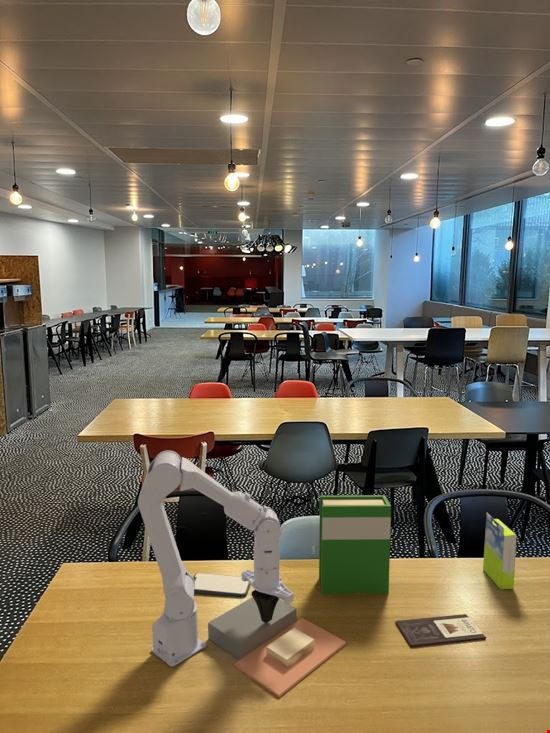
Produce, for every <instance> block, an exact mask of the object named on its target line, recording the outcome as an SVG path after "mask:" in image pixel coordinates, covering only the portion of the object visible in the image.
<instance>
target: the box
mask: <svg viewBox="0 0 550 733" xmlns="http://www.w3.org/2000/svg"><path fill="white" fill-rule="evenodd" d="M485 515H486V516H485V517H486V518H485V533H484V534H485V535H484V548H483V551H484V552H483V565H482V570H483V571H484V572H485V573H486V574H487V576H488V577H489V578H490V579H491V580H492V581H493V583H495V585H496V586H497V587H498V588H499V590H513V589H514V588H515V571H516V569H515V568H516V552H517V534H516V533H514V531H512V530H511V529H510V528H509V526H507V525H506V524H504V523H503V522H502V521H501V520H500V519H498V518H494V517H493V516H492V515H490V514H489V513H488V512H486V513H485Z"/></svg>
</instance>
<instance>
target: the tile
mask: <svg viewBox="0 0 550 733" xmlns="http://www.w3.org/2000/svg"><path fill="white" fill-rule="evenodd" d="M314 641H315V640H314V639H313V638H311V637H309V636H307V635H306V634H304V633H302V632H300V631H299V630H297V629H295V628H293V629H292V630H290V631H289V632H287V633H286V634H284V635H283V636H281V637H280V638H278V639H277V640H275V641H274V642H273V643H271V644H270V645H268V646H267V647H266V655H267V656H268V657H270V658H272V659H273V660H275V661H276V662H278V663H279V664H281V665H282V666H284V667H285V668H288V667H290V666H291V665H292V664H294V663H295V662H296V661H298V660H299V659H300V658H302V657H303V656H304V655H306V654H307V653H308V652H310V651H311V650H312V649H314Z"/></svg>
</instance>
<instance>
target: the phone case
mask: <svg viewBox="0 0 550 733" xmlns="http://www.w3.org/2000/svg"><path fill="white" fill-rule="evenodd" d="M192 577H193V579H194V581H195V587H194V595H203V596H205V595H206V596H216V597H218V596H219V597H229V598H241V599H242V598H246V597H247V596H248V593H249V590H250V588H251V586H252V585H251V584H250V583H249V582H248V581H245V582H244V581H242V576H238V575H237V576H235V575H225V574H215V573H206V572H196V573H195V574H194V576H192Z"/></svg>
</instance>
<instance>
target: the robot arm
mask: <svg viewBox="0 0 550 733" xmlns="http://www.w3.org/2000/svg"><path fill="white" fill-rule="evenodd" d="M178 487H179V491H181V492H182V491H185V490H191V489H195V490H196V491H198V492H200V493H201V494H203V495H205V496H206V497H208V498H209V499H211V500H213V501H215V502H216V503H218V504H220V505H221V506H223V511H224V514H225V515H226V516H228V517H229V518H231V519H232V520H234V521H235V522H237V523H238V524H240V525H241V526H243V527H244V528H245V529H247V530H249V531H253V533H254V534H253V535H254V543H253V571H252V570H249V569H246V570H244V571H242V572H241V577H242V581H244V582H245V581H248V582H249V583H250V584H251V585H250V586H252V587H253V589H254V590H252V591H251V595H250V596H251V598H252V597H253V598H254V600H255V602H256V604H257V606H258V609H259V613H260V616H261V620H262V621H263V622H264V623H268V622H269V621H271V620H272V617H273V613H274V610H275V607H276V604H277V602H278V600H279V599H280V600H282V601H284V602H285V604H287V605H288V604H290V605H291V604H292V603H293V602H294V601H295V600H294V596H295V594H294V591H293V592H292V591H291V590H290V589H288V587H287V586H286V585H285V584H284V583H283V582H282V576H281V575H280V543H279V541H280V538H281V535H282V532H283V530H282V529H281V523H280V520H279V518H278V515H277V513H276V512H275V511H274V509H272V508H271V507H269V506H266V505H265V504H263V505H261V504H259V503H258V502H257V501H255V500H254V499H252V498H251V497H252V496H251V494H250V493H248V492H245V493H244V492H242V491H240V490H237V491H230V490H229V489H228V488H227V487H225V486H223V485H222V484H221V483H220V482H218V481H217V480H215V479H214V478H213V477H211V476H210V475H209V474H208V473H206V472H205V471H203V470H202V469H200V468H199V467H198V466H196V465H195V464H194V463H193V462H192V461H190V460H189V459H188V458H186V457H183V456H182V457H181V456H180V454H178V453H177V452H176V451H174V450H163V451H161V452H159V453H158V454H157V455H155V458H154V459H153V460H152V461H151V462H150V463H149V465H148V468H147V472H146V474H145V478H144V480H143V483H142V486H141V489H140V492H139V496H138V499H137V505H138V509H139V512H140V514H141V518H142V521H143V524H144V526H145V530H146V533H147V535H148V538H149V542H150V544H151V548H152V550H153V554H154V557H155V560H156V562H157V565H158V568H159V572H160V575H161V579H162V588H163V594H164V598H165V602H164V608H163V612H162V614H161V615H160V616H159V618H157V619H156V620H155V621H153V624H152V628H151V629H152V647H151V649H150V651H151V652H152V653H153V654H154V655H155V656H157V657H158V658H159V659H161V660H162V661H163V662H164V663H166V664H167V665H168V666H170V667H172V668H174V667H175V666H176V665H178V664H180V663H182V662H183V661H185V660H186V659H187V660H188V658H190V657H192V656H193V655H195V654H196V653H198V652H199V651H201V650H203V649H205V648H206V647H207V644H206V643H205V642H204V641H202V640H201V639H200V638H198V636H199V635H198V634H199V633H198V629H199V628H198V605H197V603H196V602H195V594H194V587H195V581H194V579H193V577H194V576H192V574H191V573H189V571H188V570H187V567H186V565H185V564H184V563H183V561H182V559H181V556H180V552H179V548H178V546H177V542H176V539H175V536H174V534H173V531H172V530H173V529H172V528H171V524H170V520H169V518H168V515H167V512H166V510H165V506H164V503H163V502H164V501H165V499H166V498H167V496H168V495H169V494H171V493H172V492H174V491H175V490H177V489H178Z"/></svg>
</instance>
